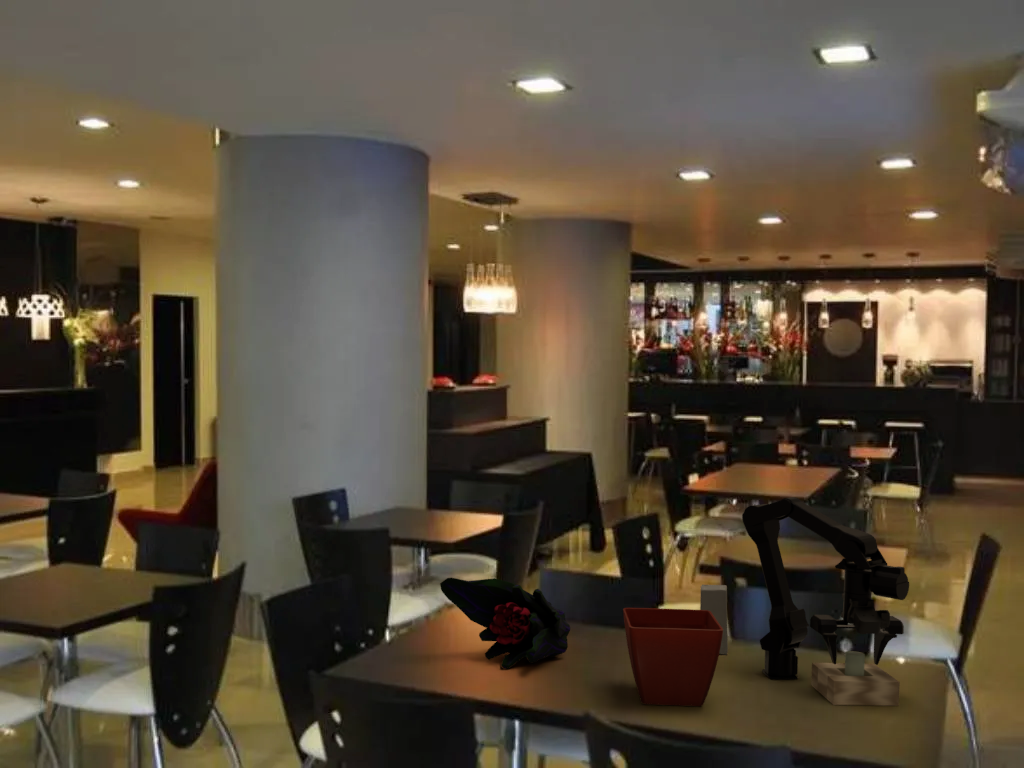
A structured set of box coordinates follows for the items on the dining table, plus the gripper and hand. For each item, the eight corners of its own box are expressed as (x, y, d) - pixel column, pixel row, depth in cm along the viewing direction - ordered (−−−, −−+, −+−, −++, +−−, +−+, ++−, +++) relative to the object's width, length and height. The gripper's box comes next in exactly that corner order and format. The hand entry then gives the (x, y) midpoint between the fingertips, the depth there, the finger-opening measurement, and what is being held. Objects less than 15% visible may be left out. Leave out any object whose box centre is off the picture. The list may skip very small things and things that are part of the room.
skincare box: (727, 655, 267) (729, 590, 266) (697, 653, 268) (699, 588, 268) (727, 647, 275) (729, 584, 275) (698, 644, 276) (700, 582, 276)
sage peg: (847, 697, 235) (849, 656, 235) (841, 692, 239) (842, 651, 239) (866, 698, 235) (867, 656, 235) (859, 692, 239) (860, 651, 239)
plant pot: (620, 682, 241) (622, 606, 241) (707, 685, 241) (710, 609, 240) (626, 709, 222) (629, 626, 222) (721, 713, 222) (724, 630, 221)
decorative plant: (562, 700, 258) (478, 691, 236) (497, 636, 275) (413, 622, 254) (606, 625, 255) (525, 609, 234) (538, 566, 273) (457, 546, 251)
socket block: (833, 704, 229) (834, 680, 229) (811, 685, 243) (812, 662, 243) (898, 705, 230) (899, 681, 230) (872, 685, 244) (873, 663, 244)
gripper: (828, 599, 228) (825, 674, 228) (915, 600, 229) (913, 675, 229) (810, 588, 239) (808, 659, 239) (894, 589, 240) (891, 660, 240)
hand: (855, 664), depth 237 cm, fingers open, 9 cm apart
